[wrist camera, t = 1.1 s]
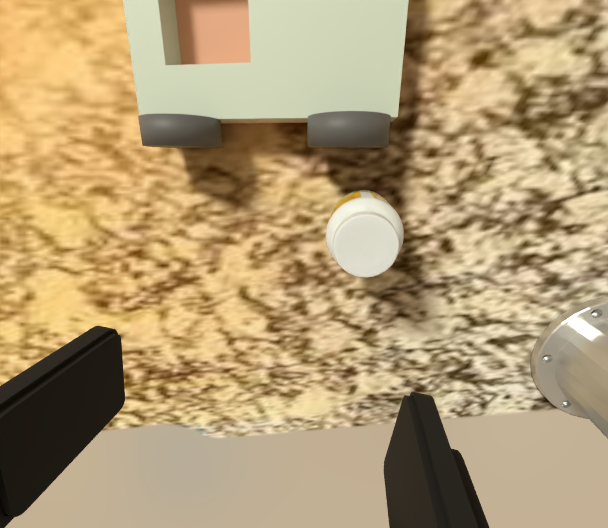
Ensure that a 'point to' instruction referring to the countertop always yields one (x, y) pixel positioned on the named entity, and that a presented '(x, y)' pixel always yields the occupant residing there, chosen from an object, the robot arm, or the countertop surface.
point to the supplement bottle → (364, 233)
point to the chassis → (267, 68)
